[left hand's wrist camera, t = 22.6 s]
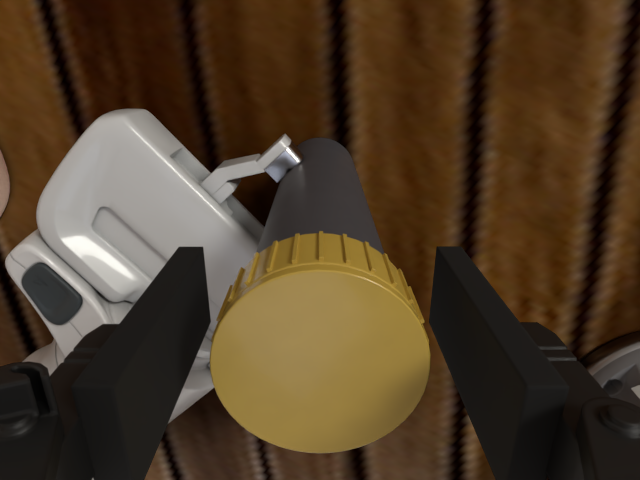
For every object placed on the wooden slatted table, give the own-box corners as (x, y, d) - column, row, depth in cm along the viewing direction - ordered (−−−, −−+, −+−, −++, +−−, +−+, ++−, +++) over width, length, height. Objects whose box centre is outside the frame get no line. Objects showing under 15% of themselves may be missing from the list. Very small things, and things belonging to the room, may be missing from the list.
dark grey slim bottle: (315, 122, 28) (307, 227, 10) (368, 168, 29) (448, 338, 11) (271, 176, 30) (193, 356, 11) (323, 218, 31) (329, 445, 12)
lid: (453, 315, 13) (481, 368, 10) (322, 422, 14) (323, 487, 12) (317, 188, 11) (317, 217, 9) (187, 320, 13) (159, 373, 10)
